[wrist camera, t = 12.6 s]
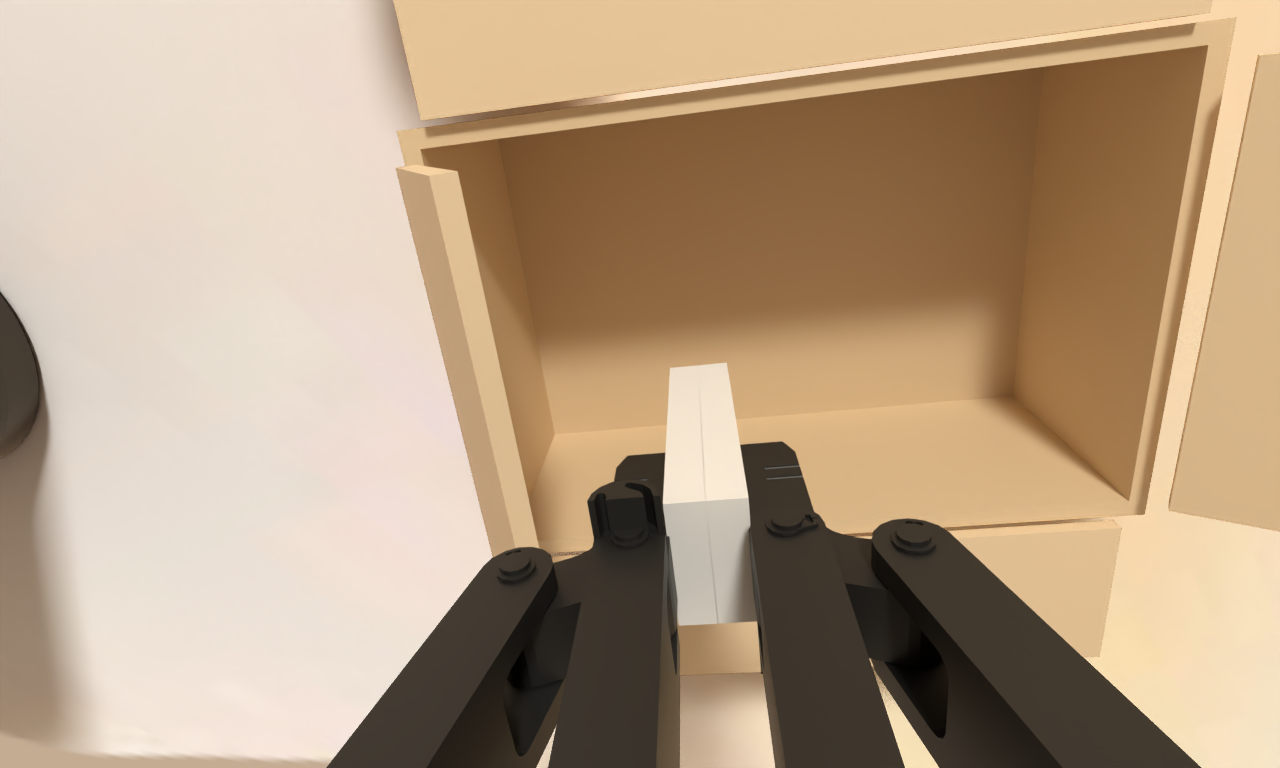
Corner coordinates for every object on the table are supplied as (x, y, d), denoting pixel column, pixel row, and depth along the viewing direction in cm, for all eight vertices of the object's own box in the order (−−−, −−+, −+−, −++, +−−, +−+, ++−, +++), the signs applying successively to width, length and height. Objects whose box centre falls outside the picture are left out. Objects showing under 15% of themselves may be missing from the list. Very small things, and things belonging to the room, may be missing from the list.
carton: (566, 537, 39) (527, 682, 29) (453, -39, 28) (330, -112, 18) (1011, 506, 36) (1129, 655, 26) (1073, -140, 25) (1311, -286, 16)
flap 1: (492, 555, 25) (546, 682, 19) (395, 167, 20) (428, 176, 14) (507, 549, 26) (566, 673, 20) (416, 164, 20) (457, 171, 14)
